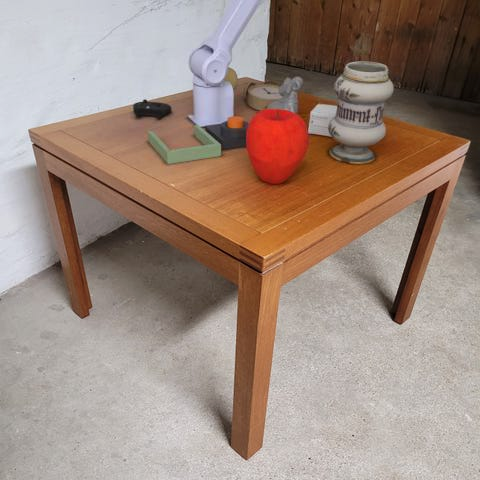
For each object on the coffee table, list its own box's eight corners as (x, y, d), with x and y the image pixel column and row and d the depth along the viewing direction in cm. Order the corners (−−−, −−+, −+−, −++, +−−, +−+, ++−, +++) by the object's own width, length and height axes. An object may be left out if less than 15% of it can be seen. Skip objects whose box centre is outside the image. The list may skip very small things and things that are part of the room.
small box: (306, 133, 121) (309, 111, 118) (315, 124, 127) (318, 102, 123) (339, 139, 119) (342, 116, 116) (346, 128, 125) (349, 107, 121)
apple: (307, 171, 104) (315, 103, 95) (300, 196, 95) (307, 123, 87) (251, 165, 106) (253, 97, 97) (238, 188, 97) (240, 116, 88)
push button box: (205, 135, 119) (204, 117, 116) (240, 130, 122) (240, 113, 119) (222, 150, 112) (222, 132, 109) (259, 145, 115) (260, 127, 112)
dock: (198, 135, 119) (198, 124, 117) (221, 156, 109) (221, 144, 108) (148, 142, 114) (147, 130, 113) (167, 164, 105) (167, 152, 103)
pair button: (224, 125, 114) (224, 117, 113) (239, 123, 115) (239, 115, 114) (231, 130, 111) (231, 122, 110) (246, 128, 112) (246, 120, 111)
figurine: (261, 116, 130) (263, 71, 124) (300, 120, 129) (304, 74, 122) (255, 126, 124) (257, 79, 117) (296, 130, 122) (300, 83, 116)
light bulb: (225, 113, 131) (225, 71, 125) (208, 107, 134) (207, 66, 128) (242, 108, 135) (243, 67, 129) (224, 102, 138) (224, 62, 132)
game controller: (172, 107, 131) (168, 95, 125) (170, 127, 130) (165, 116, 124) (135, 105, 131) (129, 93, 125) (133, 125, 131) (127, 113, 125)
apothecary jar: (318, 160, 109) (330, 69, 97) (331, 141, 117) (343, 56, 106) (375, 170, 105) (394, 76, 94) (384, 150, 114) (402, 62, 103)
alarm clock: (258, 102, 130) (237, 76, 138) (256, 120, 133) (235, 94, 142) (297, 98, 133) (274, 73, 142) (294, 116, 137) (271, 90, 146)
